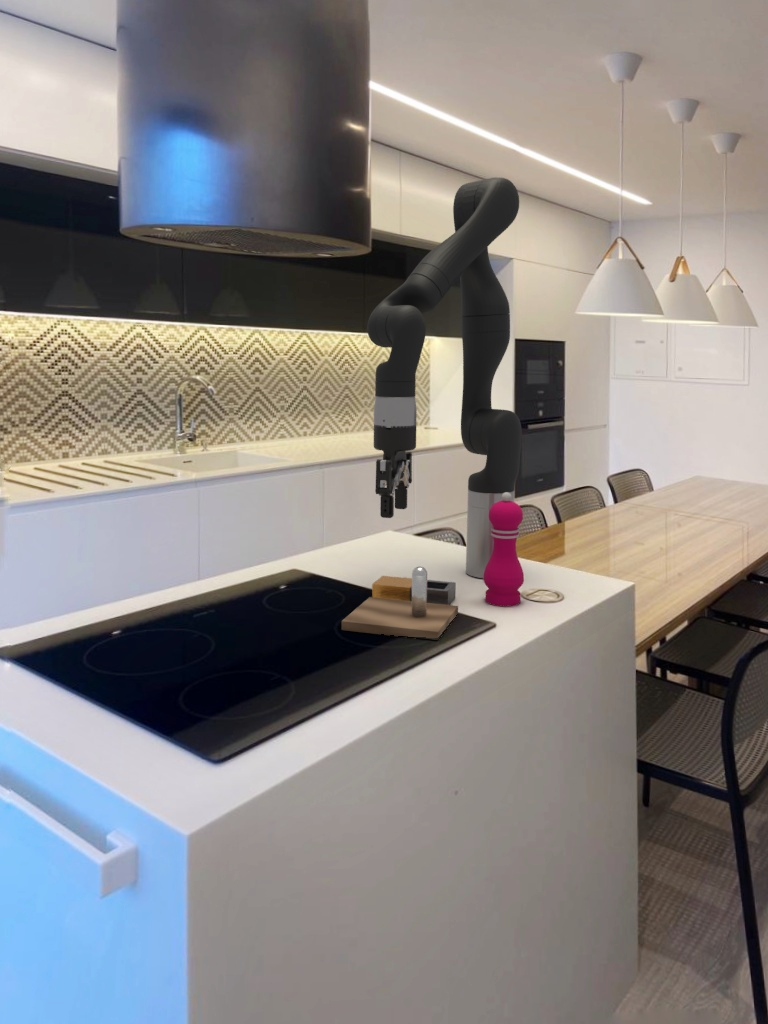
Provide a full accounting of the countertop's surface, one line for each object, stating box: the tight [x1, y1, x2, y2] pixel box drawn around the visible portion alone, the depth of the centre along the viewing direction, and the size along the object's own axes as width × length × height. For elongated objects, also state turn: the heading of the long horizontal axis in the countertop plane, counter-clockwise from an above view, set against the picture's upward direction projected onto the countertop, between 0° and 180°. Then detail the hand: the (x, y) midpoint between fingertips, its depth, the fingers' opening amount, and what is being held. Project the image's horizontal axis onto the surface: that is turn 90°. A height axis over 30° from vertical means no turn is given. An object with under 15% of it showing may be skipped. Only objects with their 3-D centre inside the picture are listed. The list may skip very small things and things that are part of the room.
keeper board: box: [341, 596, 459, 638], centre depth 136 cm, size 14×16×2 cm
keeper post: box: [411, 566, 428, 618], centre depth 134 cm, size 2×2×8 cm
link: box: [371, 575, 457, 605], centre depth 149 cm, size 6×14×3 cm, turn 72°
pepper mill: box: [482, 492, 525, 607], centre depth 146 cm, size 7×7×20 cm
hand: (394, 513), depth 147 cm, fingers open, 8 cm apart
